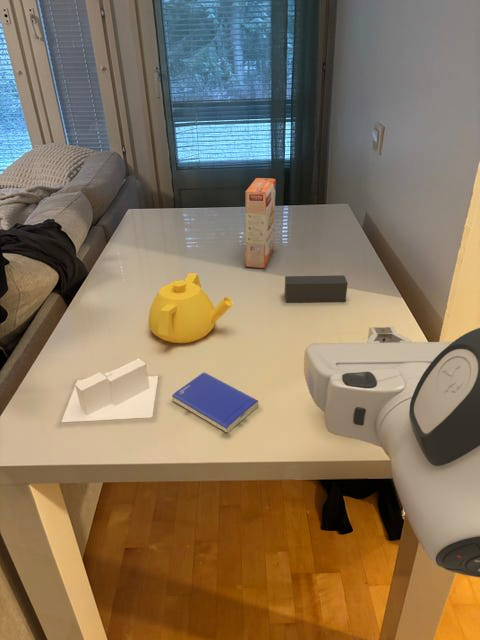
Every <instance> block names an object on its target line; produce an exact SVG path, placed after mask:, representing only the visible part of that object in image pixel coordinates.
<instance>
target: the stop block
mask: <svg viewBox="0 0 480 640" xmlns="http://www.w3.org/2000/svg"><path fill="white" fill-rule="evenodd" d="M348 284H349V283H348V280H347V279H346V276H345V275H294V276H293V275H287V276H286V275H285V276H284V300H285V303H286V304H302V303H303V304H304V303H305V304H306V303H346V300H347V292H348Z"/></svg>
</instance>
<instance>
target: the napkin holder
mask: <svg viewBox="0 0 480 640" xmlns="http://www.w3.org/2000/svg"><path fill="white" fill-rule="evenodd" d="M158 382H159V375H148V370H147V364H146V363H145V362H144V361H143V360H141V359H140V358H137V359H134V360H132V361H129V362H128V363H126V364H124V365H122V366H120V367H117V368H115V369H113V370H111V371H110V370H109V371H108V372H105V373H102V372H101V371H99V372H97V373H95V374H93V375H91V376H88V377H87V378H85V379H76V383H74V387H73V390H72V393H71V395H70V398H69V401H68V403H67V406H66V409H65V411H64V414H63V416H62V419H61V421H60V423H74V422H75V423H76V422H95V421H112V420H131V419H133V420H134V419H148V418H149V419H151V418H153V415H154V408H155V402H156V396H157V395H156V393H157V388H158Z"/></svg>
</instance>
